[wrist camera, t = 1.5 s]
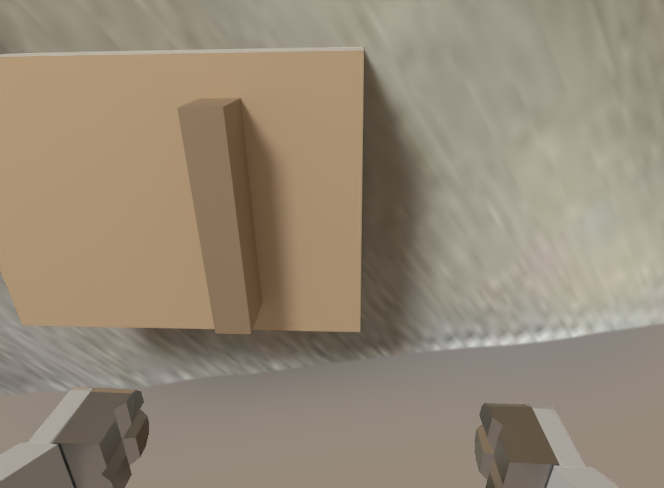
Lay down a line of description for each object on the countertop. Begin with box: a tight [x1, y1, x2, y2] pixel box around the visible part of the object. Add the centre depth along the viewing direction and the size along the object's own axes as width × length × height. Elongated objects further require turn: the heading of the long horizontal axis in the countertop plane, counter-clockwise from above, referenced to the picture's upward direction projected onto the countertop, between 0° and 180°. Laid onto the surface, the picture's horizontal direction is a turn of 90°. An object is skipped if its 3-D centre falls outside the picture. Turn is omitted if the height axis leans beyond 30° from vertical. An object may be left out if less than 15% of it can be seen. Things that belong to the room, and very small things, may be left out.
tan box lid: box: [0, 50, 364, 334], centre depth 23 cm, size 22×16×4 cm
